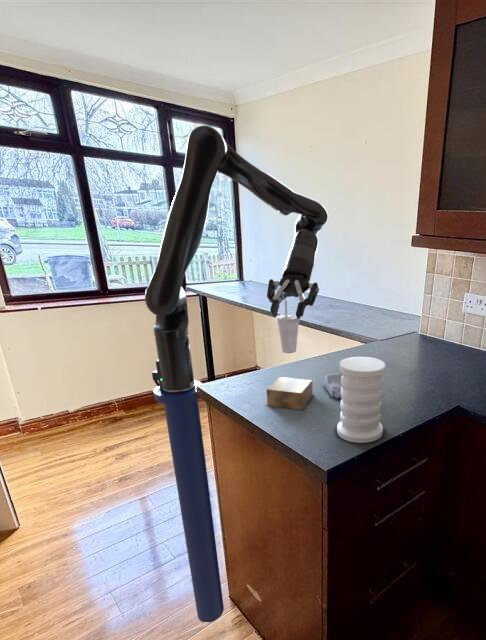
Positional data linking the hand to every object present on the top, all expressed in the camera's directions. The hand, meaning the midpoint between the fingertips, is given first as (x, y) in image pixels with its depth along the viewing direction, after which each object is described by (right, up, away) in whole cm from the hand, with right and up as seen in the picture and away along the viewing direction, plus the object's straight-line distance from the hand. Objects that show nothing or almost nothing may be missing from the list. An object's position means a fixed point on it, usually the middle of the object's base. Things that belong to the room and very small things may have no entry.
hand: (285, 315), depth 106 cm
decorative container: (+20, -30, -4) cm, 36 cm away
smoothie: (0, -9, +6) cm, 11 cm away
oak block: (-1, -23, +11) cm, 25 cm away
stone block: (+14, -20, +19) cm, 31 cm away
